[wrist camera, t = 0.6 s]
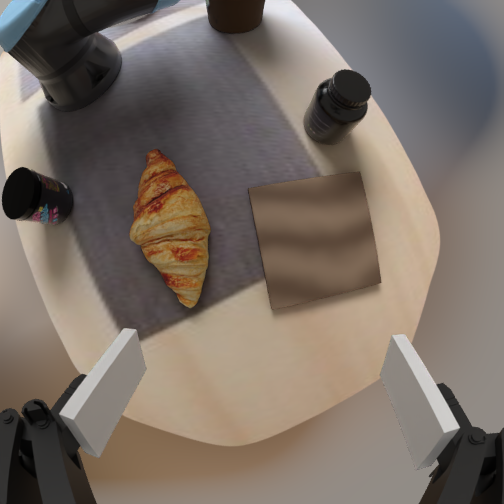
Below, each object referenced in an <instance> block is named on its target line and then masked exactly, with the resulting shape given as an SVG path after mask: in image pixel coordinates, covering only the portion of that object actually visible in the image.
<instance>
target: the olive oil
mask: <svg viewBox="0 0 504 504" xmlns="http://www.w3.org/2000/svg"><path fill="white" fill-rule="evenodd" d="M264 4H265V0H206V6H207V12H208V19H209V22H210V24H211V26H212V27H214V28H215V29H217V30H219V31H222V32H226V33H243V32H247V31H250V30H252V29H254V28H256V27H257V26H258V25H259V24H260V22H261V20H262V15H263V9H264Z"/></svg>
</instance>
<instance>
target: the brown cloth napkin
mask: <svg viewBox="0 0 504 504" xmlns="http://www.w3.org/2000/svg"><path fill="white" fill-rule="evenodd" d="M248 193H249V197H250V202H251V207H252V212H253V217H254V222H255V227H256V232H257V237H258V242H259V247H260V252H261V258H262V263H263V268H264V273H265V278H266V283H267V288H268V293H269V298H270V304H271V308H272V310H274V309H279V308H283V307H288V306H292V305H296V304H301V303H305V302H309V301H314V300H318V299H322V298H326V297H330V296H334V295H338V294H342V293H346V292H349V291H353V290H357V289H361V288H364V287H368V286H372V285H375V284H379V283H381V277H380V270H379V263H378V256H377V250H376V244H375V239H374V233H373V228H372V223H371V218H370V213H369V208H368V204H367V199H366V195H365V190H364V186H363V182H362V178H361V174H360V172H353V173H344V174H337V175H329V176H322V177H315V178H308V179H301V180H295V181H288V182H282V183H276V184H270V185H264V186H258V187H253V188H248Z"/></svg>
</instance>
